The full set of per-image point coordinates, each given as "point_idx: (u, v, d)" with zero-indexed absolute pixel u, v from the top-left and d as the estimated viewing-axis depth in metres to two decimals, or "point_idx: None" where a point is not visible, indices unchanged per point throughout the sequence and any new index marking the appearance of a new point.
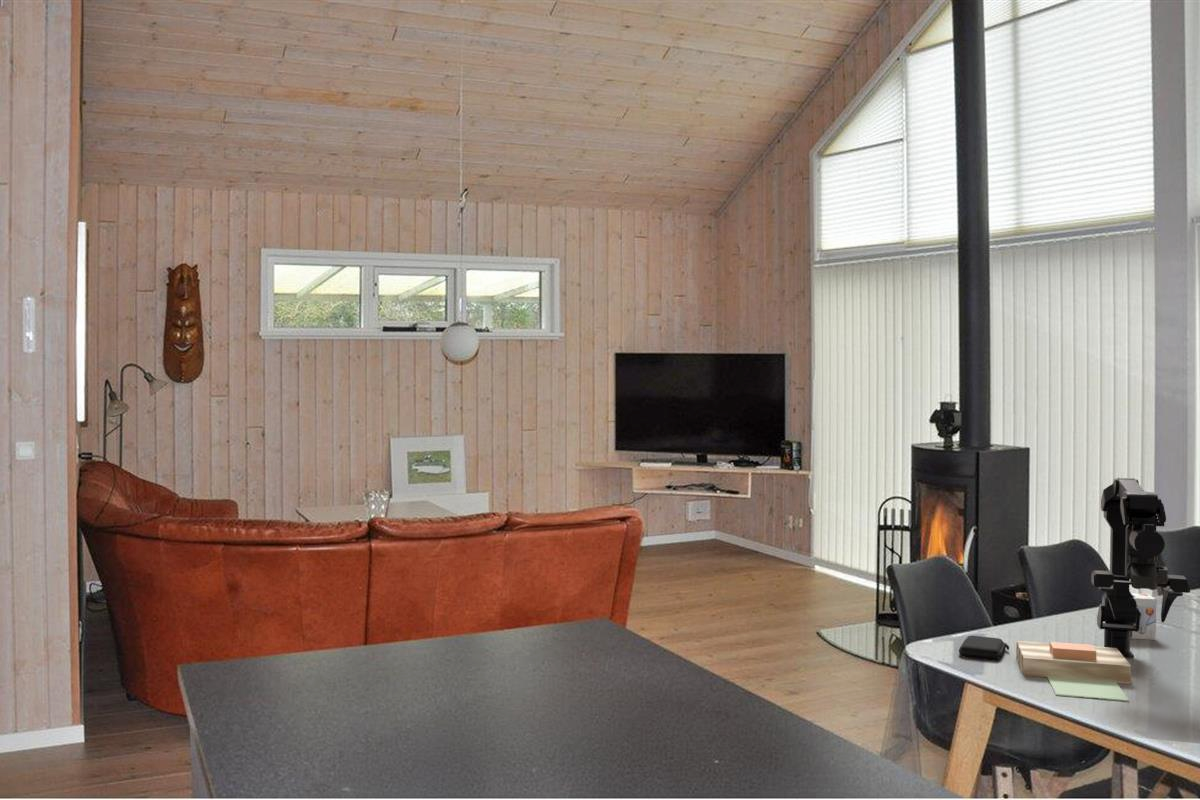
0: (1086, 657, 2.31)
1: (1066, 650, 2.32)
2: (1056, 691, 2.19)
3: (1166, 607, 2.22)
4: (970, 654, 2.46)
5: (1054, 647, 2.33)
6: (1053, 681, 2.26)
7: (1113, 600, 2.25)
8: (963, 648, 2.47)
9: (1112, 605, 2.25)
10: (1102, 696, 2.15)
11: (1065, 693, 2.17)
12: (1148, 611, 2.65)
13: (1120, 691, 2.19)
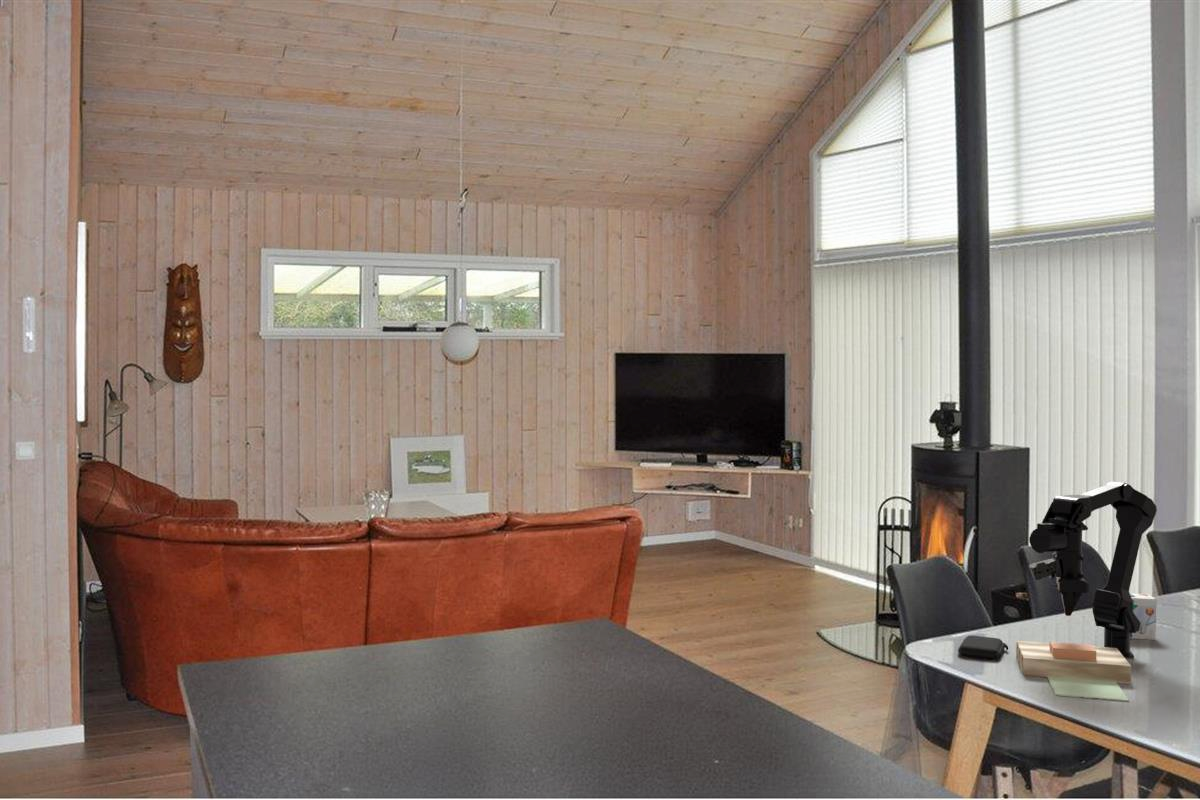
0: (1086, 657, 2.31)
1: (1066, 650, 2.32)
2: (1056, 691, 2.19)
3: (1063, 601, 2.42)
4: (969, 654, 2.46)
5: (1054, 647, 2.33)
6: (1053, 681, 2.26)
7: (1061, 596, 2.43)
8: (962, 648, 2.47)
9: (1062, 601, 2.43)
10: (1102, 696, 2.15)
11: (1065, 693, 2.17)
12: (1148, 611, 2.65)
13: (1120, 691, 2.19)
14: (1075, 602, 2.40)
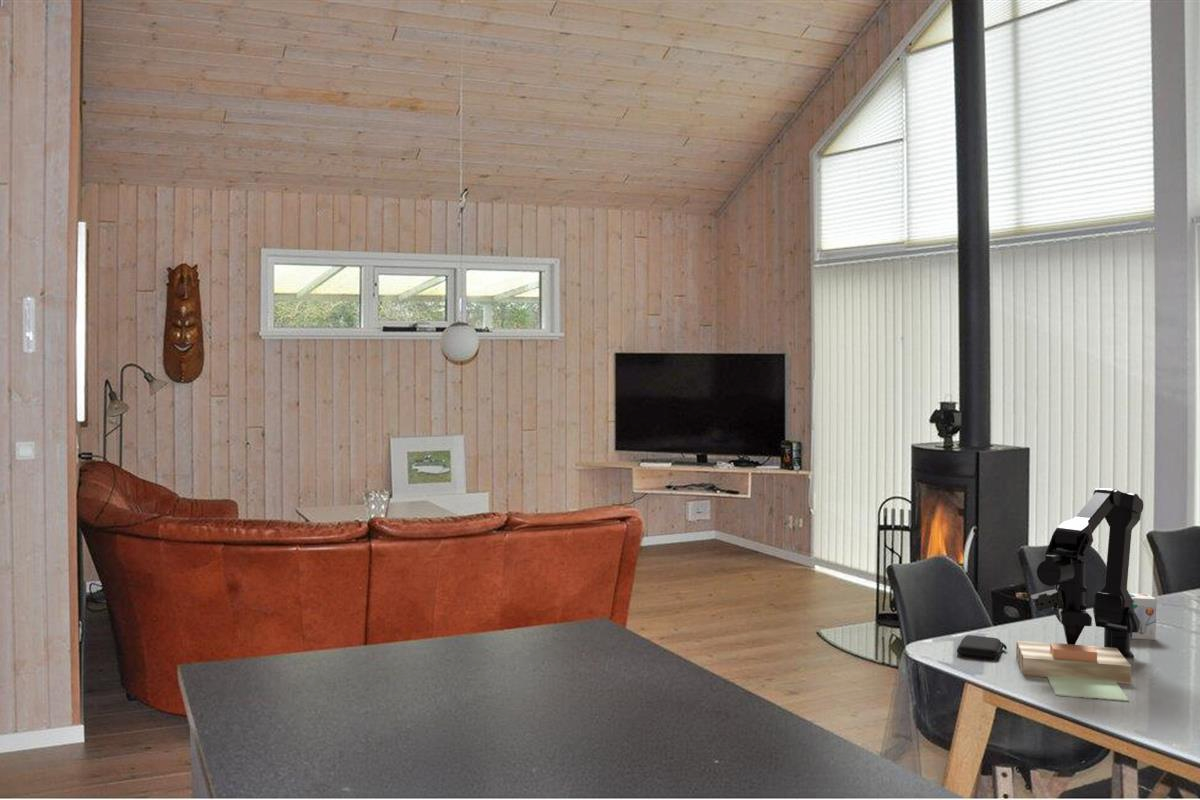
0: (1087, 658, 2.30)
1: (1067, 651, 2.31)
2: (1056, 691, 2.19)
3: (1065, 633, 2.37)
4: (968, 654, 2.46)
5: (1055, 648, 2.32)
6: (1053, 681, 2.26)
7: (1064, 628, 2.38)
8: (961, 648, 2.47)
9: None
10: (1102, 696, 2.15)
11: (1065, 693, 2.17)
12: (1148, 611, 2.65)
13: (1120, 691, 2.19)
14: (1078, 634, 2.35)
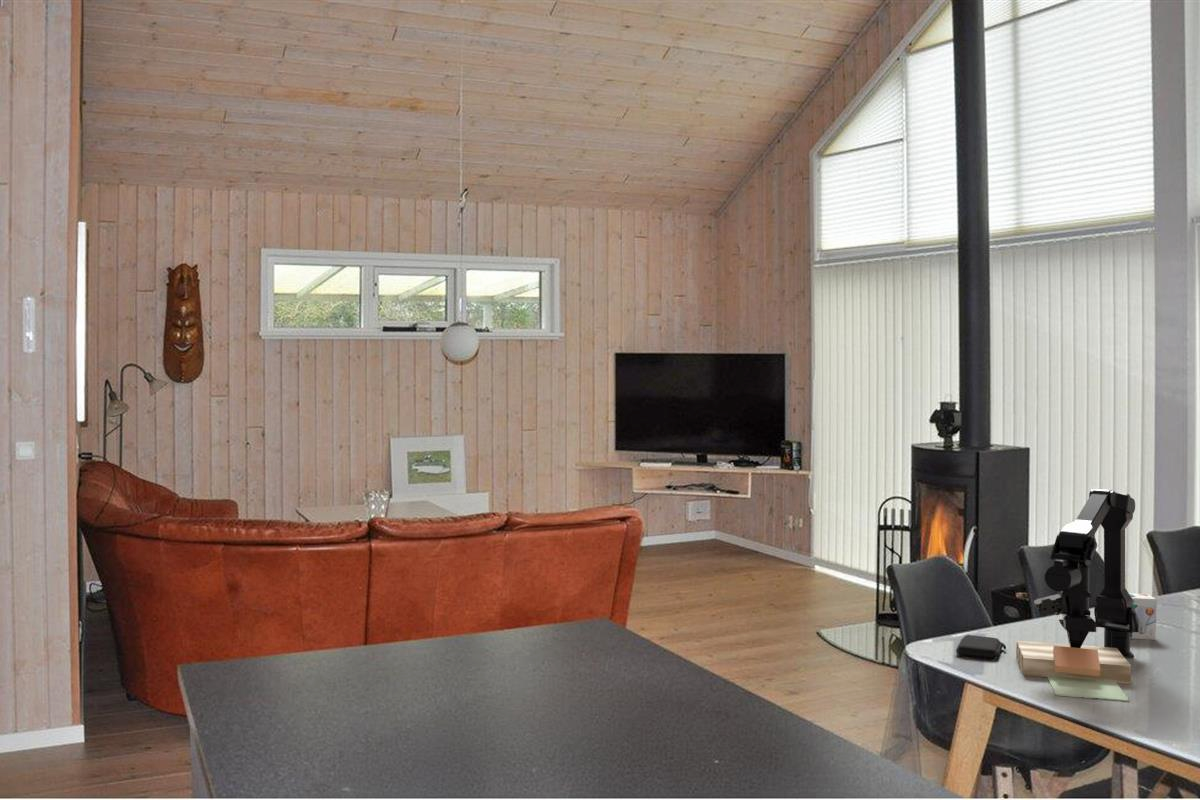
0: (1089, 674, 2.25)
1: (1069, 668, 2.25)
2: (1056, 691, 2.19)
3: (1069, 639, 2.31)
4: (968, 654, 2.46)
5: (1057, 663, 2.27)
6: (1053, 681, 2.26)
7: (1067, 634, 2.33)
8: (961, 648, 2.47)
9: (1068, 639, 2.33)
10: (1102, 696, 2.15)
11: (1065, 693, 2.17)
12: (1148, 611, 2.65)
13: (1120, 691, 2.19)
14: (1082, 640, 2.30)
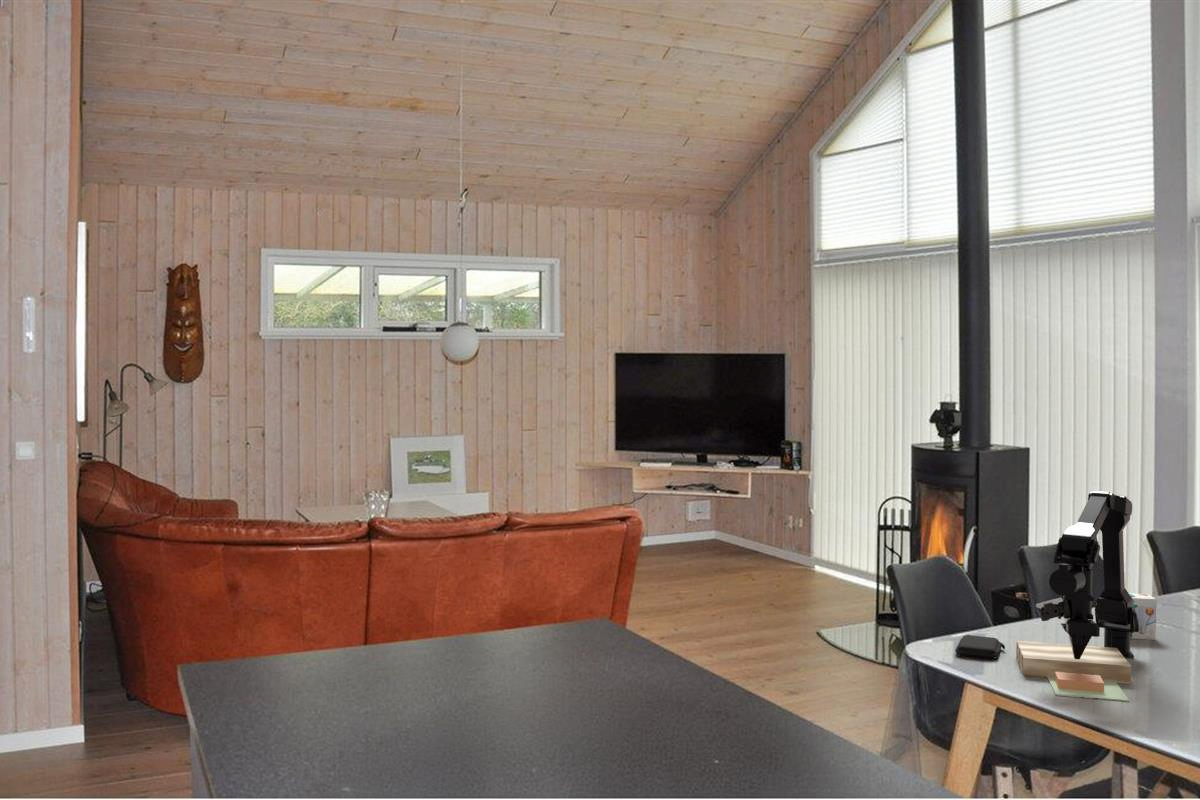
0: None
1: None
2: (1056, 691, 2.19)
3: (1071, 643, 2.28)
4: (967, 654, 2.46)
5: None
6: (1053, 681, 2.26)
7: (1070, 638, 2.29)
8: (960, 648, 2.48)
9: (1071, 643, 2.29)
10: (1102, 696, 2.15)
11: (1065, 693, 2.17)
12: (1148, 611, 2.65)
13: (1120, 691, 2.19)
14: (1085, 645, 2.26)
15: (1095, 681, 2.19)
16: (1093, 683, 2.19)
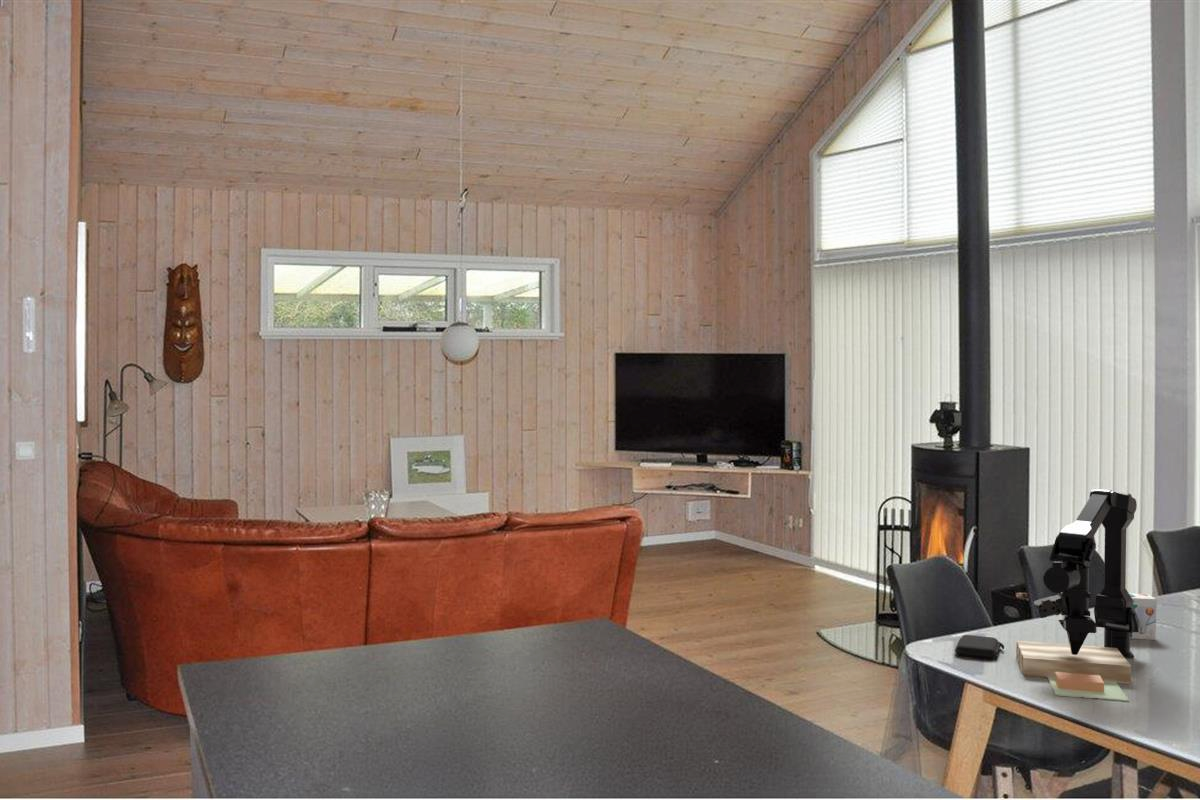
0: None
1: None
2: (1056, 691, 2.19)
3: (1069, 639, 2.33)
4: (966, 654, 2.46)
5: None
6: (1053, 681, 2.26)
7: (1067, 634, 2.34)
8: (959, 648, 2.48)
9: (1068, 639, 2.34)
10: (1102, 696, 2.15)
11: (1065, 693, 2.17)
12: (1148, 611, 2.65)
13: (1120, 691, 2.19)
14: (1082, 641, 2.31)
15: (1095, 681, 2.19)
16: (1093, 683, 2.19)
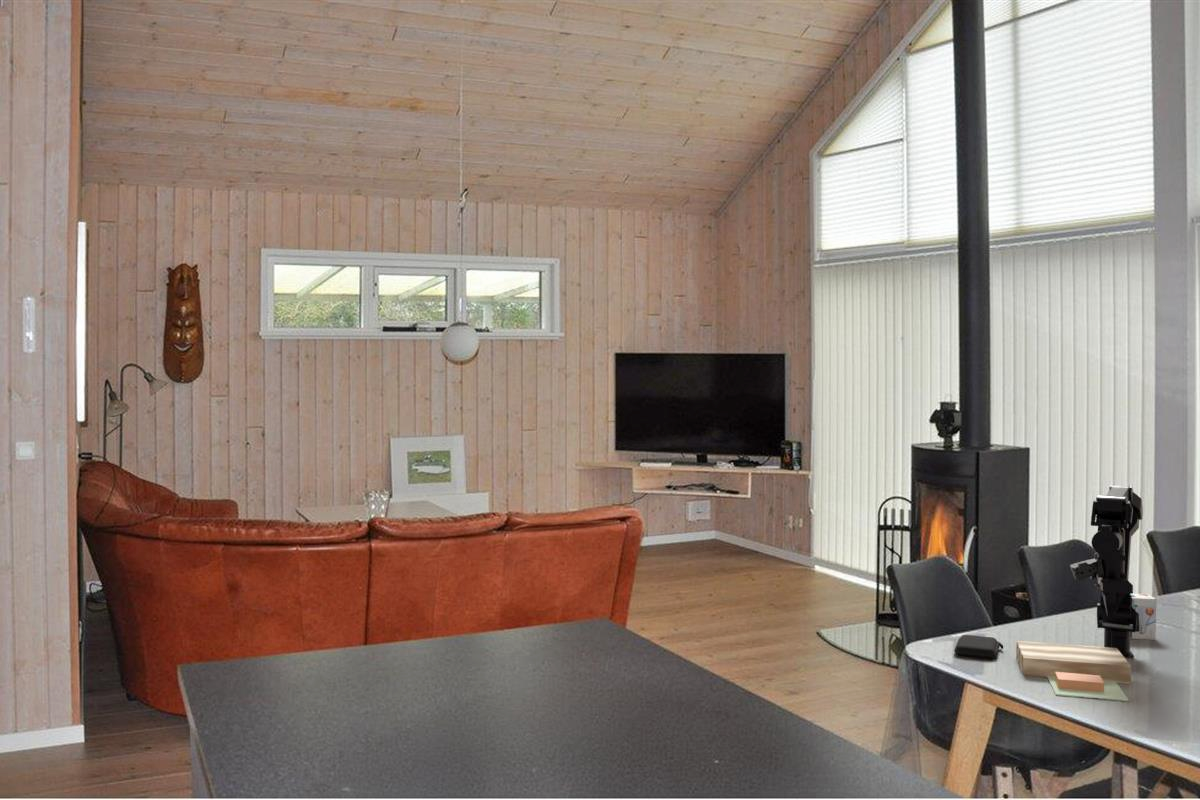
0: None
1: None
2: (1056, 691, 2.19)
3: (1105, 601, 2.38)
4: (966, 654, 2.46)
5: None
6: (1053, 681, 2.26)
7: (1103, 597, 2.40)
8: (959, 648, 2.48)
9: (1104, 602, 2.40)
10: (1102, 696, 2.15)
11: (1065, 693, 2.17)
12: (1148, 611, 2.65)
13: (1120, 691, 2.19)
14: (1118, 603, 2.37)
15: (1095, 681, 2.19)
16: (1093, 683, 2.19)
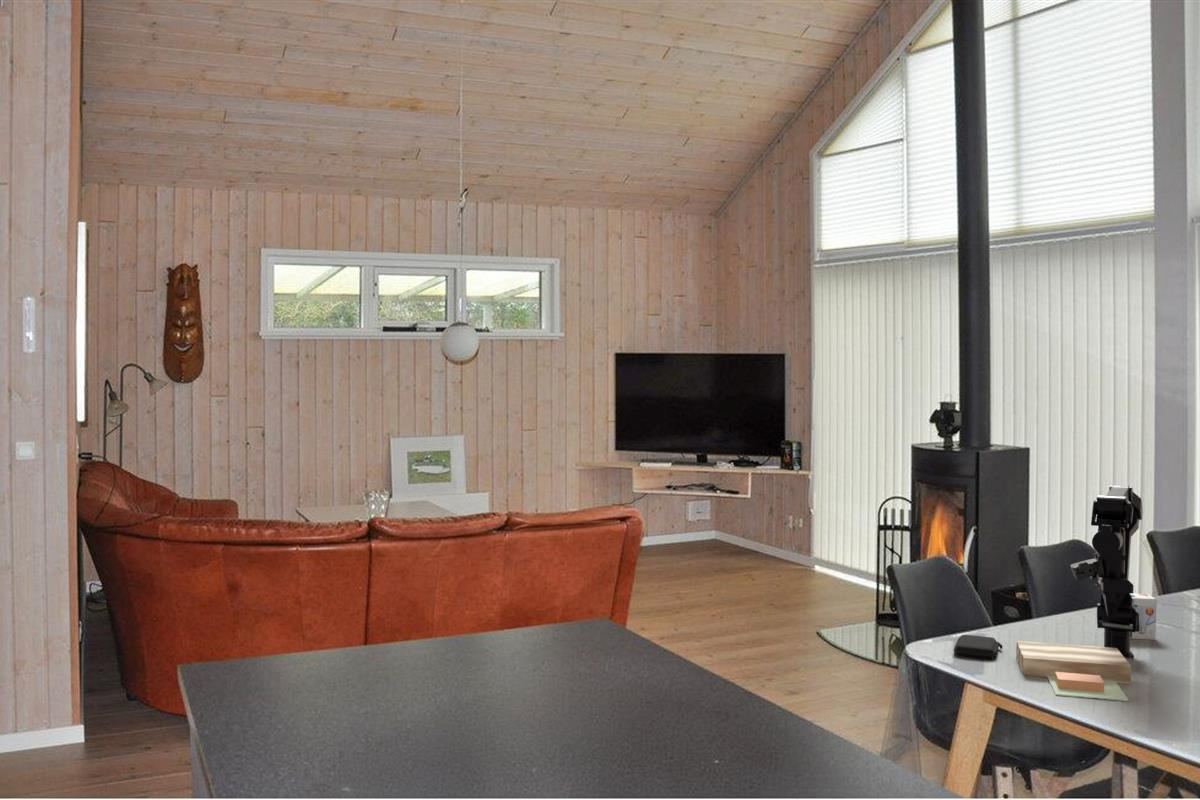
0: None
1: None
2: (1056, 691, 2.19)
3: (1105, 601, 2.38)
4: (965, 653, 2.46)
5: None
6: (1053, 681, 2.26)
7: (1104, 596, 2.40)
8: (958, 648, 2.48)
9: (1104, 602, 2.40)
10: (1102, 696, 2.15)
11: (1065, 693, 2.17)
12: (1148, 611, 2.65)
13: (1120, 691, 2.19)
14: (1118, 603, 2.37)
15: (1095, 681, 2.19)
16: (1093, 683, 2.19)
